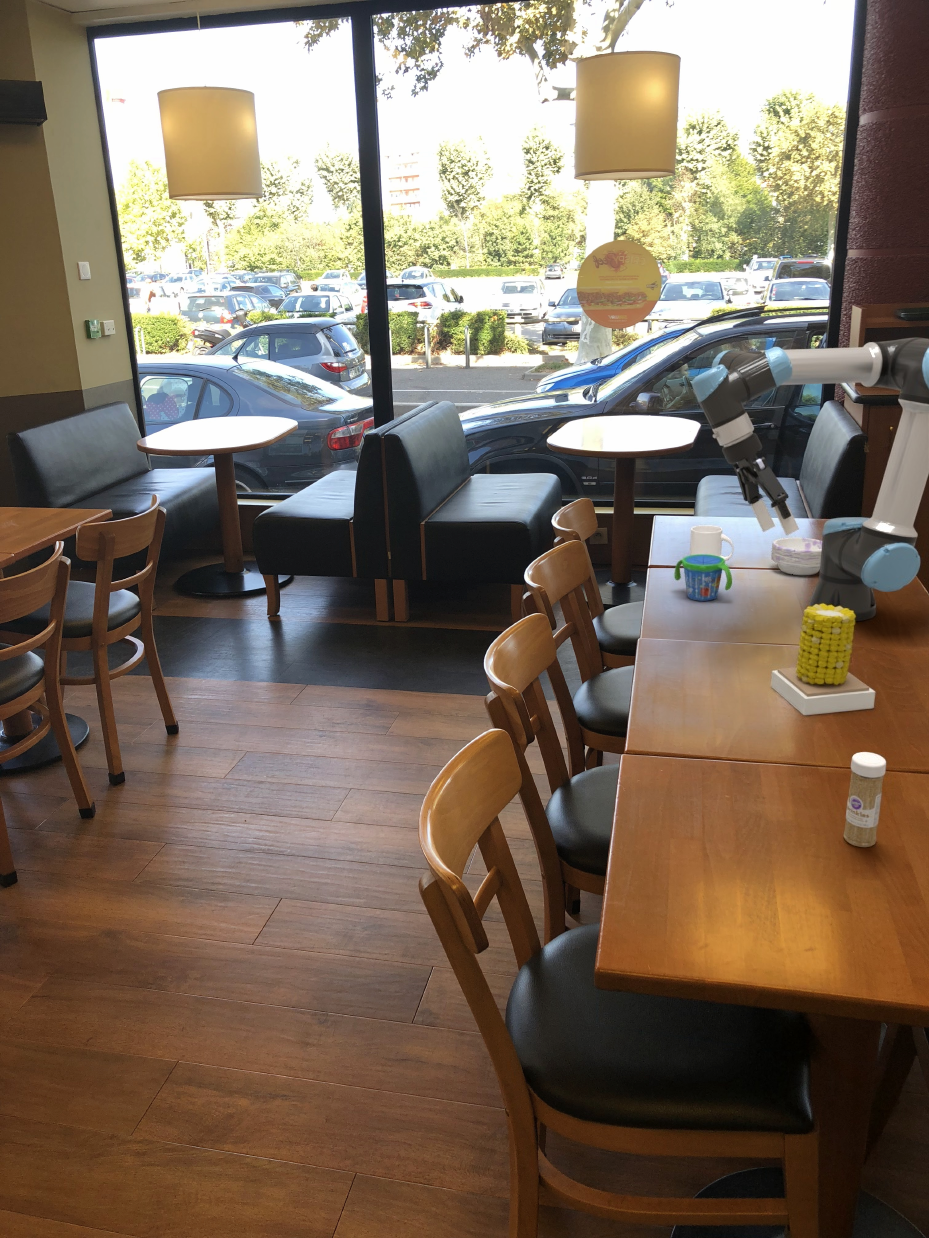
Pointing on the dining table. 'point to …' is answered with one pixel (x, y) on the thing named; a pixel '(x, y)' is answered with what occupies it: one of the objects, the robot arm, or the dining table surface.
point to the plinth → (822, 693)
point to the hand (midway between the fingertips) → (780, 530)
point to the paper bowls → (797, 555)
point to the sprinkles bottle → (864, 799)
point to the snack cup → (703, 575)
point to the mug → (708, 541)
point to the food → (825, 644)
